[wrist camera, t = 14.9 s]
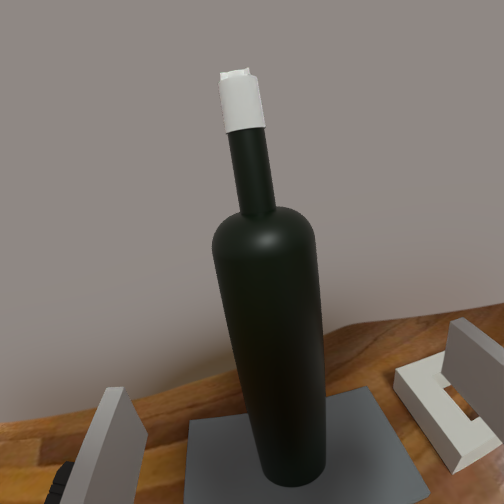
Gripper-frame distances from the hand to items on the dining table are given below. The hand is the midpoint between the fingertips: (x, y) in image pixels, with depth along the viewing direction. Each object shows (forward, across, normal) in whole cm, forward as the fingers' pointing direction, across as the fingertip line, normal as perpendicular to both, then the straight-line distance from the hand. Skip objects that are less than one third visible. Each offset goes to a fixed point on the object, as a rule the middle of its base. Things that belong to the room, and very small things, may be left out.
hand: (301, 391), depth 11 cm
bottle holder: (+8, +20, -18) cm, 28 cm away
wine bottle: (+8, 0, -17) cm, 19 cm away
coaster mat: (+8, 0, -18) cm, 19 cm away
